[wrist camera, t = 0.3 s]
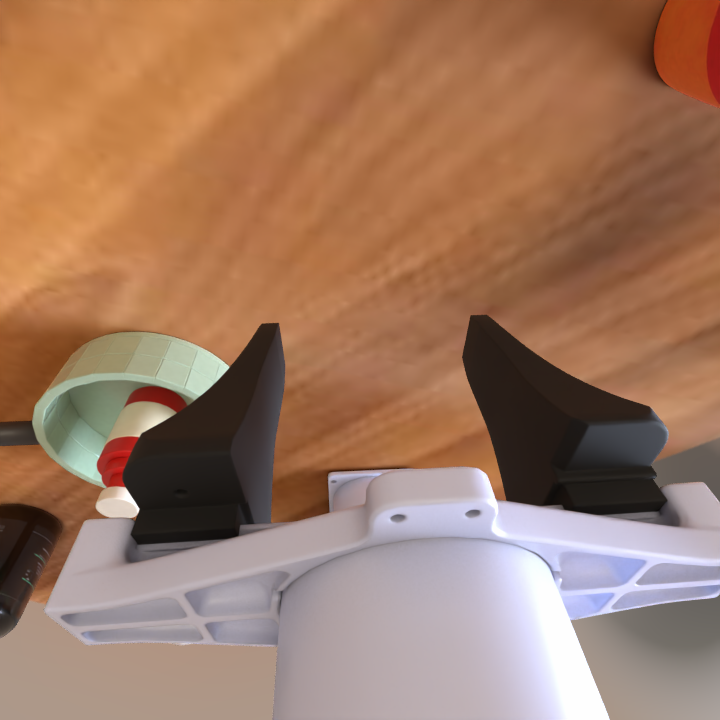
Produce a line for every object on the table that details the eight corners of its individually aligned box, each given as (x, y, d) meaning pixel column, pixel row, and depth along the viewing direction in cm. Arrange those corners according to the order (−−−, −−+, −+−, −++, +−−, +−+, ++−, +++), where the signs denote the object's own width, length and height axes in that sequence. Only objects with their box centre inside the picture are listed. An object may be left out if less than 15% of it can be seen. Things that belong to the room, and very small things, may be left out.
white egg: (202, 549, 46) (185, 625, 40) (241, 574, 50) (231, 645, 45) (129, 571, 48) (104, 646, 42) (173, 593, 53) (155, 663, 47)
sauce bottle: (194, 424, 32) (164, 525, 26) (138, 426, 32) (93, 529, 26) (180, 384, 29) (142, 487, 23) (118, 386, 29) (63, 490, 23)
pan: (260, 451, 36) (254, 493, 33) (103, 457, 35) (82, 501, 32) (233, 328, 27) (222, 369, 24) (27, 333, 27) (-12, 376, 24)
